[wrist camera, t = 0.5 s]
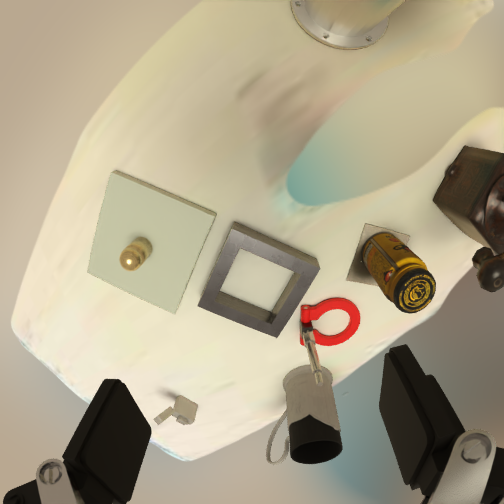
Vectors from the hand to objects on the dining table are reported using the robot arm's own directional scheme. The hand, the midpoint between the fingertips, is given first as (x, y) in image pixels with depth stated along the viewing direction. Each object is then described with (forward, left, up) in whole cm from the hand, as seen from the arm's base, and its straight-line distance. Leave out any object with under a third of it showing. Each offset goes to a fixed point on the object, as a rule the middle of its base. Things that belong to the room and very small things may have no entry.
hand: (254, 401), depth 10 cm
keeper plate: (+12, -12, -31) cm, 35 cm away
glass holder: (+27, +20, -31) cm, 46 cm away
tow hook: (+12, +17, -31) cm, 37 cm away
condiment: (0, +18, -31) cm, 36 cm away
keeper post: (+12, -12, -29) cm, 34 cm away
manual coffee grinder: (-13, +26, -31) cm, 42 cm away
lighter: (+40, +2, -31) cm, 51 cm away
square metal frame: (+10, +4, -31) cm, 32 cm away
